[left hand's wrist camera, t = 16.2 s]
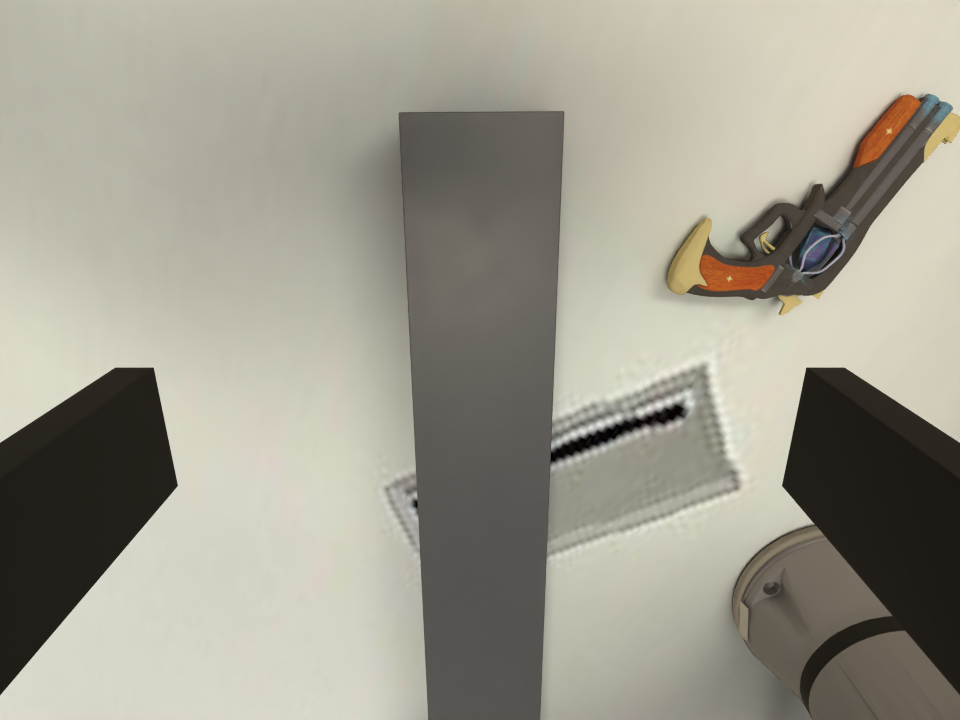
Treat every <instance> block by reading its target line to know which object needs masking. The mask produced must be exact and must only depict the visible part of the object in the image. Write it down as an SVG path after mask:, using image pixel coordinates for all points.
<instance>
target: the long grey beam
mask: <svg viewBox="0 0 960 720" xmlns="http://www.w3.org/2000/svg"><path fill="white" fill-rule="evenodd" d="M399 129H400V149H401V170H402V190H403V211H404V231H405V251H406V272H407V292H408V313H409V333H410V353H411V374H412V394H413V415H414V435H415V456H416V476H417V496H418V517H419V537H420V558H421V578H422V598H423V619H424V639H425V660H426V680H427V700H428V720H540V707H541V682H542V657H543V632H544V607H545V582H546V557H547V532H548V507H549V482H550V457H551V432H552V406H553V381H554V356H555V331H556V306H557V281H558V256H559V231H560V206H561V181H562V156H563V131H564V112H563V111H547V112H400V113H399Z"/></svg>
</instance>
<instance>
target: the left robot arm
mask: <svg viewBox="0 0 960 720" xmlns="http://www.w3.org/2000/svg"><path fill="white" fill-rule="evenodd" d="M177 486H178V484H177V479H176V475H175V470H174V465H173V460H172V455H171V450H170V445H169V441H168V436H167V431H166V426H165V421H164V416H163V411H162V406H161V402H160V397H159V392H158V387H157V382H156V377H155V372H154V368H114V369H113V370H111V371H110V372H108V373H107V374H105V375H104V376H102V377H100V378H99V379H97V380H96V381H94V382H93V383H91V384H90V385H88V386H87V387H85V388H84V389H82V390H81V391H79V392H78V393H76V394H74V395H73V396H71V397H70V398H68V399H67V400H65V401H64V402H62V403H61V404H59V405H58V406H56V407H55V408H53V409H51V410H50V411H48V412H47V413H45V414H44V415H42V416H41V417H39V418H38V419H36V420H35V421H33V422H32V423H30V424H28V425H27V426H25V427H24V428H22V429H21V430H19V431H18V432H16V433H15V434H13V435H12V436H10V437H9V438H7V439H6V440H4V441H2V442H1V443H0V695H1V694H2V692H3V691H4V690H5V689H6V688H7V687H8V685H9V684H10V683H11V682H12V681H13V679H14V678H15V677H16V676H17V675H18V674H19V672H20V671H21V670H22V669H23V668H24V666H25V665H26V664H27V663H28V662H29V661H30V659H31V658H32V657H33V656H34V655H35V654H36V652H37V651H38V650H39V649H40V648H41V646H42V645H43V644H44V643H45V642H46V641H47V639H48V638H49V637H50V636H51V635H52V633H53V632H54V631H55V630H56V629H57V628H58V626H59V625H60V624H61V623H62V622H63V621H64V619H65V618H66V617H67V616H68V615H69V613H70V612H71V611H72V610H73V609H74V608H75V606H76V605H77V604H78V603H79V602H80V601H81V599H82V598H83V597H84V596H85V595H86V593H87V592H88V591H89V590H90V589H91V588H92V586H93V585H94V584H95V583H96V582H97V580H98V579H99V578H100V577H101V576H102V575H103V573H104V572H105V571H106V570H107V569H108V568H109V566H110V565H111V564H112V563H113V562H114V560H115V559H116V558H117V557H118V556H119V555H120V553H121V552H122V551H123V550H124V549H125V547H126V546H127V545H128V544H129V543H130V542H131V540H132V539H133V538H134V537H135V536H136V535H137V533H138V532H139V531H140V530H141V529H142V527H143V526H144V525H145V524H146V523H147V522H148V520H149V519H150V518H151V517H152V516H153V514H154V513H155V512H156V511H157V510H158V509H159V507H160V506H161V505H162V504H163V503H164V502H165V500H166V499H167V498H168V497H169V496H170V494H171V493H172V492H173V491H174V490H175V489H176V487H177ZM782 486H783V487H784V489H785V490H786V491H787V492H788V493H789V494H790V496H791V497H792V498H793V499H794V500H795V502H796V503H797V504H798V505H799V506H800V507H801V509H802V510H803V511H804V512H805V513H806V514H807V516H808V517H809V518H810V519H811V520H812V522H813V523H814V524H815V525H816V526H817V527H818V529H819V530H820V531H821V532H822V533H823V535H824V536H825V537H826V538H827V539H828V540H829V542H830V543H831V544H832V545H833V546H834V547H835V549H836V550H837V551H838V552H839V553H840V555H841V556H842V557H843V558H844V559H845V560H846V562H847V563H848V564H849V565H850V566H851V568H852V569H853V570H854V571H855V572H856V573H857V575H858V576H859V577H860V578H861V579H862V580H863V582H864V583H865V584H866V585H867V586H868V588H869V589H870V590H871V591H872V592H873V593H874V595H875V596H876V597H877V598H878V599H879V601H880V602H881V603H882V604H883V605H884V606H885V608H886V609H887V610H888V611H889V612H890V613H891V615H892V616H893V617H894V618H895V619H896V621H897V622H898V623H899V624H900V625H901V626H902V628H903V629H904V630H905V631H906V632H907V633H908V635H909V636H910V637H911V638H912V639H913V641H914V642H915V643H916V644H917V645H918V646H919V648H920V649H921V650H922V651H923V652H924V654H925V655H926V656H927V657H928V658H929V659H930V661H931V662H932V663H933V664H934V665H935V666H936V668H937V669H938V670H939V671H940V672H941V674H942V675H943V676H944V677H945V678H946V679H947V681H948V682H949V683H950V684H951V685H952V687H953V688H954V689H955V690H956V691H957V692H958V694H959V695H960V443H959V442H958V441H956V440H954V439H953V438H951V437H950V436H948V435H947V434H945V433H944V432H942V431H941V430H939V429H938V428H936V427H935V426H933V425H932V424H930V423H928V422H927V421H925V420H924V419H922V418H921V417H919V416H918V415H916V414H915V413H913V412H912V411H910V410H909V409H907V408H905V407H904V406H902V405H901V404H899V403H898V402H896V401H895V400H893V399H892V398H890V397H889V396H887V395H886V394H884V393H882V392H881V391H879V390H878V389H876V388H875V387H873V386H872V385H870V384H869V383H867V382H866V381H864V380H863V379H861V378H860V377H858V376H856V375H855V374H853V373H852V372H850V371H849V370H847V369H846V368H806V372H805V377H804V382H803V387H802V392H801V397H800V402H799V406H798V411H797V416H796V421H795V426H794V431H793V436H792V441H791V445H790V450H789V455H788V460H787V465H786V470H785V475H784V479H783V484H782Z"/></svg>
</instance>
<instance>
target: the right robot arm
mask: <svg viewBox="0 0 960 720" xmlns="http://www.w3.org/2000/svg"><path fill="white" fill-rule="evenodd" d="M733 616H734V620H735V623H736V625H737V627H738V630H739V634H740V635H741V636H742V637H743V639H744V641H745V643H746V645H747V647H748V648H749V650H750V651H751V652H752V653H753V655H754V656H755V657H756V658H757V659H758V660H760V661H761V662H762V663H763V664H764V665H765V666H766V667H767V668H768V669H769V670H770V671H771V672H772V673H773V674H774V675H776V676H777V677H778V678H779V679H780V680H781V681H782V682H783V683H784V684H785V685H786V686H787V687H788V688H789V689H790V690H792V691H793V692H794V693H795V694H796V695H797V696H798V697H799V698H800V699H801V700H802V702H803V703H804V705H805V707H806V709H807V710H808V712H809V714H810V716H811V717H812V719H813V720H960V695H959V694H958V692H957V691H956V690H955V689H954V688H953V687H952V685H951V684H950V683H949V682H948V681H947V679H946V678H945V677H944V676H943V675H942V674H941V672H940V671H939V670H938V669H937V668H936V666H935V665H934V664H933V663H932V662H931V661H930V659H929V658H928V657H927V656H926V655H925V654H924V652H923V651H922V650H921V649H920V648H919V646H918V645H917V644H916V643H915V642H914V641H913V639H912V638H911V637H910V636H909V635H908V633H907V632H906V631H905V630H904V629H903V628H902V626H901V625H900V624H899V623H898V622H897V621H896V619H895V618H894V617H893V616H892V615H891V613H890V612H889V611H888V610H887V609H886V608H885V606H884V605H883V604H882V603H881V602H880V601H879V599H878V598H877V597H876V596H875V595H874V593H873V592H872V591H871V590H870V589H869V588H868V586H867V585H866V584H865V583H864V582H863V580H862V579H861V578H860V577H859V576H858V575H857V573H856V572H855V571H854V570H853V569H852V568H851V566H850V565H849V564H848V563H847V562H846V560H845V559H844V558H843V557H842V556H841V555H840V553H839V552H838V551H837V550H836V549H835V547H834V546H833V545H832V544H831V543H830V542H829V540H828V539H827V538H826V537H825V536H824V535H823V533H822V532H821V531H820V530H819V529H818V527H817V526H812V527H808V528H805V529H801V530H798V531H796V532H793V533H790V534H788V535H786V536H784V537H782V538H780V539H778V540H777V541H775V542H773V543H772V544H770V545H769V546H767V547H766V548H765V549H764V550H762V551H761V552H760V553H759V554H758V555H757V556H756V557H755V558H754V559H753V560H752V561H751V562H750V563H749V564H748V566H747V567H746V569H745V570H744V571H743V573H742V575H741V576H740V578H739V580H738V583H737V585H736V588H735V591H734V596H733Z"/></svg>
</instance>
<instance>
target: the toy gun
mask: <svg viewBox="0 0 960 720" xmlns="http://www.w3.org/2000/svg"><path fill="white" fill-rule="evenodd" d="M939 101H940V100H939V99H938V97H936V96H935V95H931V94H927V95H925V97H923V98H920V99H919V100H917V99H916V98H915V97H913V96H912V95H904V96H901V97H899V98H898V99H897V100H896V101H895V102H894V104H893V105H892V106H891V107H890V108H889V109H888V111H887V112H886V113H885V114H884V115H883V117H882V118H881V119H880V120H879V121H878V123H877V124H876V125H875V126H874V127H873V129H872V130H871V131H870V132H869V134H868V135H867V136H866V137H865V138H864V140H863V141H862V143H861V144H860V147H859V150H858V153H857V156H856V159H855V162H854V165H853V169H852V171H851V172H850V173H849V175H848V176H847V177H846V178H845V180H844V181H843V182H842V183H841V185H840V186H839V187H838V188H837V189H836V190H835V191H834V192H833V193H832V194H831V195H830V196H829V197H827V198H826V199H825V193H824V189H823V185H822V184H815V185H814V186H813V188H812V190H811V193H810V196H809V198H808V200H807V202H806V204H805V205H804V207H803V209H802V210H800V209H798V208H797V207H796V206H795V205H793V204H789V203H778V204H776V205H774V206H773V207H772V208H771V209H770V211H769V212H768V213H767V215H766V216H765V217H764V218H763V219H762V220H761V221H760V222H759V223H758V224H757V225H755V226H754V227H753V228H751V229H750V230H749V231H747V232H746V233H745V234H743V235H742V236H741V238H740V240H741V241H742V242H743V243H744V244H745V246H746V247H747V248H748V249H749V251H750V253H751V257H750V259H749V261H739V260H732V259H727V258H724V257H723V256H721V255H720V254H719V253H718V252H717V251H716V250H715V249H714V248H713V247H712V245H711V244H710V241H709V233H710V230H711V219H709V218H705V219H704V220H703V221H702V222H701V223H700V224H699V225H698V226H697V227H696V228H695V230H694V231H693V232H692V233H691V235H690V236H689V237H688V239H687V240H686V241H685V243H684V244H683V245H682V247H681V248H680V250H679V251H678V253H677V254H676V256H675V258H674V260H673V262H672V264H671V266H670V269H669V272H668V277H667V284H668V287H669V289H670V290H671V291H673V292H674V293H676V294H679V295H682V294H684V293H690V294H695V295H700V296H708V297H735V296H739V297H745V298H747V299H749V300H754V299H756V298H760V299H766V298H771V297H774V296H778V298H779V299H780V300H781V301H782V302H783V305H782V308H781V310H780V312H779V315H784V314H786V313H788V312H789V311H790V310H791V309H792V308H793V307H794V306H796V305H799V304H801V303H802V301H800V300H798V299H797V298H798V295H804V296H809V295H813V296H814V297H816V298H817V299H819V298H820V296H821V294H822V293H823V291H824V290H825V289H826V288H827V287H828V285H829V284H830V283H831V282H832V281H833V280H834V278H835V277H836V276H837V275H838V274H839V272H840V271H841V270H842V269H843V267H844V266H845V265H846V264H847V263H848V261H849V260H850V259H851V257H852V256H853V255H854V253H855V252H856V250H857V249H858V247H859V245H860V244H861V242H862V240H863V238H864V237H865V235H866V233H867V231H868V229H869V227H870V226H871V224H872V223H873V222H874V220H875V219H876V218H877V217H878V215H879V214H880V213H881V212H882V211H883V209H884V208H885V207H886V206H887V204H888V203H889V202H890V201H891V199H892V198H893V197H894V196H895V195H896V193H897V192H898V191H899V190H900V188H901V187H902V186H903V185H904V184H905V182H906V181H907V180H908V179H909V178H910V176H911V175H912V174H913V173H914V172H915V171H916V170H917V168H918V167H919V166H920V165H921V164H922V163H923V162H924V161H925V160H926V159H927V158H928V157H929V155H930V154H931V153H932V152H933V151H934V150H935V148H936V147H937V146H938V145H939V144H940V143H941V141H942V142H943V143H944V144H946V143H947V141H948V142H950V143H952V141H953V140H954V138H955V137H956V135H957V133H958V132H959V130H960V117H959V116H958V115H956V114H953V113H950V112H951V111H952V109H953V107H952V106H951V105H950V104H949V103H946V102H939ZM779 216H782V217H783V218H784V219H785V221H786V223H787V228H788V229H787V230H786V232H785V233H784V234H783V235H782V237H781V238H780V239H779V241H778V242H777V243H776V245H775V246H774V247H773V246H772V245H771V244H769V243H768V242H767V241H766V237H767V235H768V232H765V233H763V234H761V233H762V232H764V231H765V230H766V229H767V228H769V227H770V226H771V225H772V224H773V223H774V222H775V221H776V219H777V218H778V217H779ZM813 223H816V224H817V225H818V226H820V227H821V228H812V229H811V230H810V228H811V226H812V225H813ZM809 230H810V231H809ZM831 230H833V231H835V233H834V234H833V233H832V231H831ZM808 231H809V232H808ZM760 234H761V235H760ZM758 235H760V236H759V241H760V244H761V247H762V249H763V250H764V251H765V252H766V254H764V255H763V254H762V253H761V252H759V251H758V250H757V248H756V246H755V244H754V239H755V238H756V237H757V236H758ZM837 238H839V239H840V240H841V242H840V245H839V246H838V244H837V241H836V239H837ZM763 242H764V243H765V244H766V245H767V246H768V247H769V248H770V249H771V251H770V252H769V251H768V250H767V249H766V248H765V247H764V245H763ZM799 244H800V252H799V270H796V269H795V268H793V264H792V258H791V255H792V253H793V252H794V250H795V249H796V248H797V246H798V245H799ZM837 248H838V249H837ZM836 249H837V250H836ZM835 250H836V251H835ZM834 251H835V253H834V254H833V255H832V257H831V258H830V259H829V260H828V261H827V263H826V264H825V265H824V266H823V267H822V268H821V269H820V270H819V271H817V272H807V271H810V270H813V269H816V268H818V267H819V266H820V265H821V264H822V263H823V262H824V261H825V260H826V259H827V258H828V257H829V256H830V255H831V254H832V253H833V252H834ZM788 258H789V262H790V265H789V264H788V263H786V261H787V259H788ZM804 274H814V275H813V276H811V277H809V278H808V277H806V276H805V275H804Z"/></svg>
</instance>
